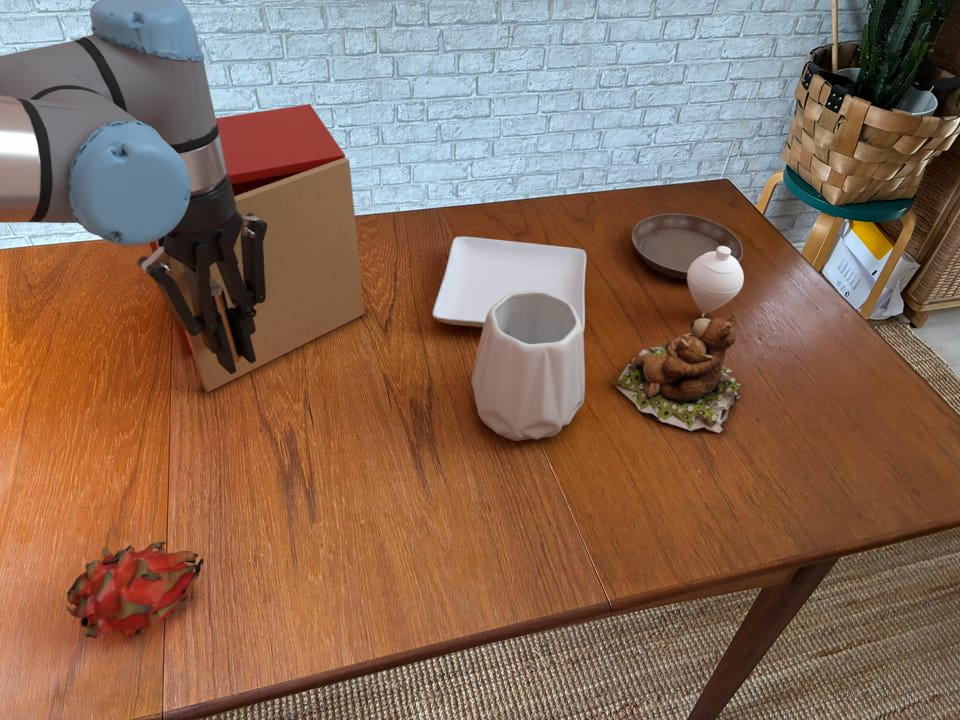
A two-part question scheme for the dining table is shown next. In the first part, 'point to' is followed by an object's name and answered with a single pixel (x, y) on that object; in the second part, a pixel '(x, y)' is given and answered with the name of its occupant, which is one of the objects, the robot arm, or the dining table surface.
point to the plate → (506, 277)
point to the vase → (529, 366)
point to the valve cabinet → (271, 150)
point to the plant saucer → (680, 242)
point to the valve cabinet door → (290, 269)
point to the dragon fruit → (132, 589)
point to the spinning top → (714, 279)
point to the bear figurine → (685, 377)
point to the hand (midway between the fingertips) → (237, 361)
